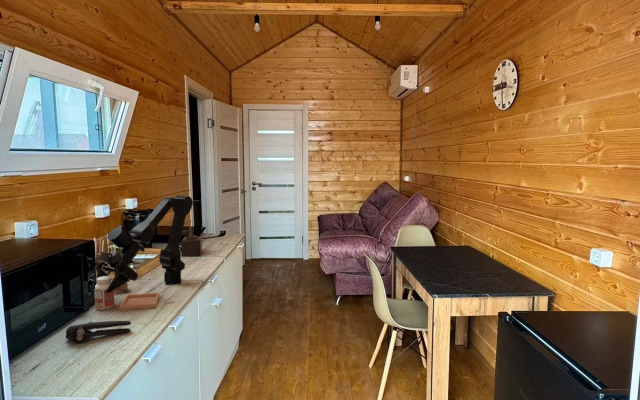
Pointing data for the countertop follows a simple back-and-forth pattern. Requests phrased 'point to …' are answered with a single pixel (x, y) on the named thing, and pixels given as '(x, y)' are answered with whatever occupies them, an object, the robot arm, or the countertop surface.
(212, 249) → the countertop surface
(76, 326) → the can opener
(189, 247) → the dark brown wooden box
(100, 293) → the pill bottle
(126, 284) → the walnut block
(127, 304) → the tray
